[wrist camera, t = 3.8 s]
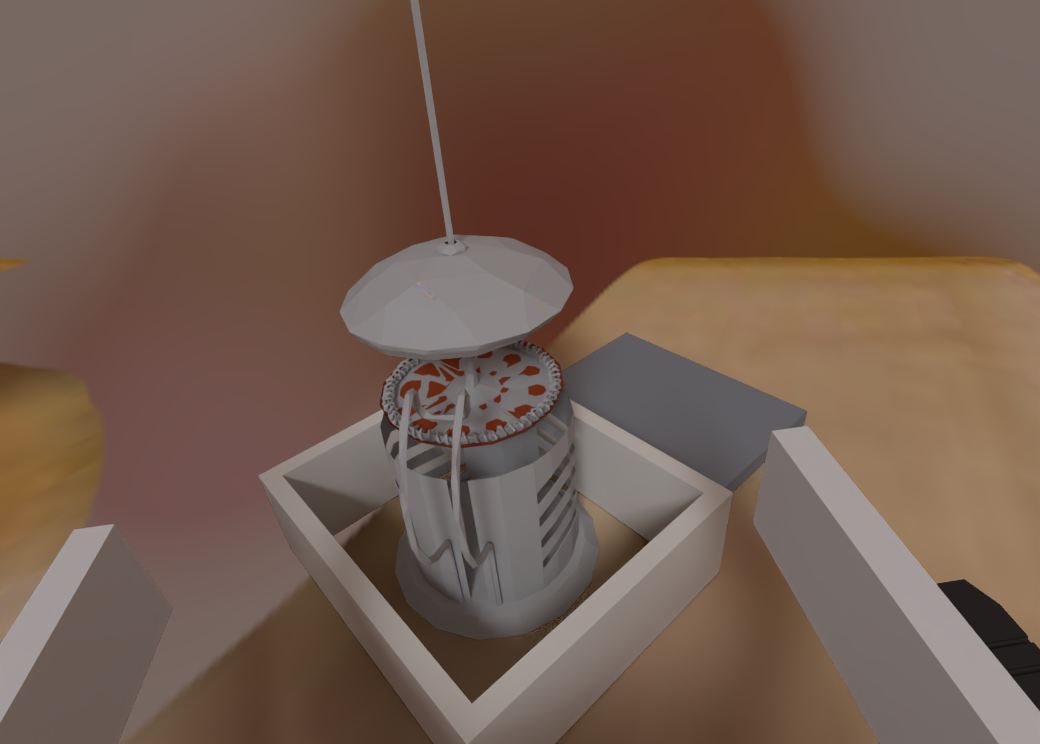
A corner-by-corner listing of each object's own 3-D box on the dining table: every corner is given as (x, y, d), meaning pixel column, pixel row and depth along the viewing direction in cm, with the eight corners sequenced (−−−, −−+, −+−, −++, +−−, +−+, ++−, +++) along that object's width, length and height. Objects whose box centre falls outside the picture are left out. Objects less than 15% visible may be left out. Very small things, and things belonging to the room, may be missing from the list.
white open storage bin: (290, 548, 30) (258, 475, 27) (497, 421, 37) (488, 352, 34) (486, 815, 20) (467, 744, 17) (719, 571, 27) (733, 492, 24)
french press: (601, 475, 32) (599, -127, 18) (596, 693, 23) (585, -210, 9) (424, 469, 34) (293, -92, 19) (350, 672, 24) (-8, -131, 10)
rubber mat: (509, 416, 37) (508, 403, 36) (626, 344, 42) (626, 332, 42) (688, 534, 28) (689, 519, 28) (803, 424, 34) (807, 411, 34)
